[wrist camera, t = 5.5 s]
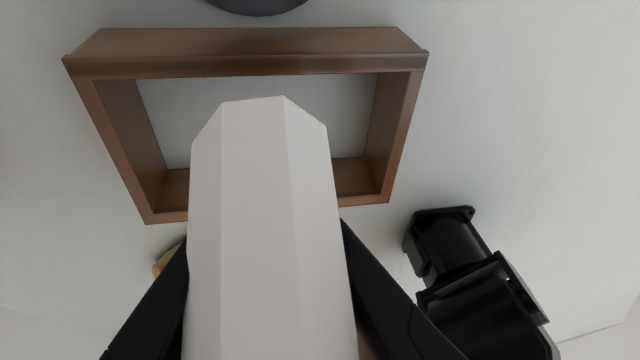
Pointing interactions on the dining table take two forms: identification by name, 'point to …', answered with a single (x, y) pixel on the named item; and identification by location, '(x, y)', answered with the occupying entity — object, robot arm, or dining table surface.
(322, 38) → the wooden box
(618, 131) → the dining table surface
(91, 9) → the dining table surface
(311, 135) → the pepper shaker
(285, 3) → the slate coaster
